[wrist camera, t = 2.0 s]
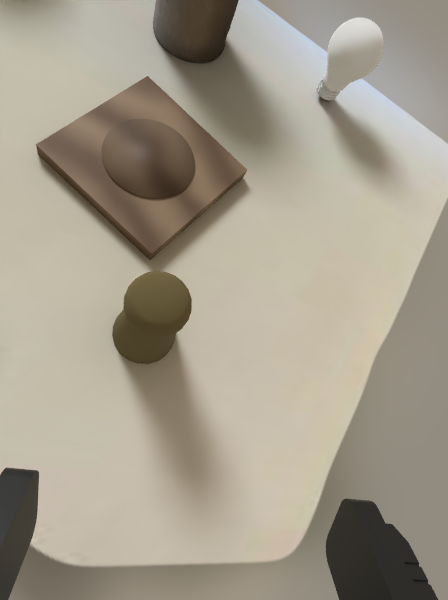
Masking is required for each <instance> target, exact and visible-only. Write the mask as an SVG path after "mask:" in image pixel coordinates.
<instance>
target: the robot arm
mask: <svg viewBox="0 0 448 600" xmlns="http://www.w3.org/2000/svg"><path fill="white" fill-rule="evenodd" d="M38 485H39V472H38V471H36V470H26V469H15V468H5V469H4V470H3V472H2V473H1V475H0V600H8V599H9V596H10V594H11V591H12V588H13V586H14V583H15V581H16V578H17V575H18V573H19V570H20V567H21V565H22V563H23V560H24V558H25V555H26V552H27V550H28V547H29V545H30V542H31V539H32V536H33V532H34V529H35V524H36V519H37V506H38ZM326 556H327V561H328V565H329V568H330V571H331V575H332V578H333V581H334V584H335V587H336V591H337V594H338V597H339V600H438V598H437V597H436V595H435V593H434V591H433V589H432V587H431V585H429V584H428V579H427V577H426V575H425V574H424V572H423V570H422V568H421V567H419V562H418V560H417V558H416V556H415V555H414V552H413V550H412V549H411V547H410V545H409V543H408V542H407V540H406V539H405V538H404V537H403V536H402V535H401V534H400V533H399V531H398V530H397V529H396V528H395V527H394V526H393V525H392V524H385V522H384V520H383V518H382V516H381V514H380V511H379V509H378V508H377V506H376V504H375V503H374V502H372V501H366V500H356V499H344V500H343V501H342V502H341V505H340V507H339V510H338V512H337V514H336V517H335V519H334V522H333V524H332V527H331V529H330V531H329V534H328V537H327V541H326Z"/></svg>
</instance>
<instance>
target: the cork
mask: <svg viewBox="0 0 448 600" xmlns="http://www.w3.org/2000/svg"><path fill="white" fill-rule="evenodd" d="M190 314H191V296H190V293H189V290H188V289H187V287H186V286H185V284H184V283H183V282H182V281H181V280H180V279H179V278H177V277H176V276H174V275H172V274H169V273H167V272H161V271H153V272H149V273H145V274H143V275H142V276H140V277H138V278H136V279H135V280H134V281H133V282H132V283H131V285H130V286H129V287H128V289H127V292H126V294H125V297H124V310H123V311H122V312H121V313H120V314H119V316H118V317H117V318H116V321H115V323H114V326H113V335H112V336H113V340H114V344H115V346H116V348H117V349H118V351H119V352H120V354H122V355H123V356H124V357H125V358H127V359H128V360H130V361H133V362H136V363H147V364H148V363H152V362H155V361H158V360H160V359H161V358H162V357H164V356H165V355H166V354H167V353H168V352H169V350H170V349H171V348H172V345H173V342H174V339H175V335H176V332H178V331H180V330H181V329H182V328H183V326H184V325H185V324H186V322H187V321H188V319H189V316H190Z"/></svg>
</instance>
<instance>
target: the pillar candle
mask: <svg viewBox="0 0 448 600" xmlns="http://www.w3.org/2000/svg"><path fill="white" fill-rule="evenodd" d="M237 4H238V0H156V4H155V12H154V20H153V29H154V33H155V36H156V38H157V40H158V41H159V42H160V44H161V45H162V46H163V47H164V48H165V49H166V50H167V51H169V52H170V53H171V54H173V55H175V56H177V57H179V58H181V59H184V60H188V61H193V62H202V63H204V62H210V61H212V60H215V58H217V57H219V56H220V55H221V53H222V51H223V49H224V47H225V40H226V37H227V34H228V31H229V29H230V25H231V22H232V19H233V17H234V13H235V10H236V7H237Z"/></svg>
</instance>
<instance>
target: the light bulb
mask: <svg viewBox="0 0 448 600" xmlns="http://www.w3.org/2000/svg"><path fill="white" fill-rule="evenodd" d="M383 48H384V39H383V35H382V32H381V30H380V28H379V27H378V26H377V25H376V24H375V23H374V22H373V21H371V20H369V19H367V18H354V19H350V20H348V21H347V22H345V23H343V24H342V25H341V26H339V27H338V29H337V30H336V31H335V32H334V34H333V35H332V38H331V40H330V42H329V46H328V55H327V68H326V71H325V73H324V75H323V80H322V81H321V82H320V83H319V86H318V88H317V92H318V94H319V96H320V97H321V98H322V99H324V100H326V101H331V100H334V99H335V98H336V96H337V95H338V94H339V93H340V91H341V90H343V89H344V88H345V87H346V86H347V85H348V84H349V83H351V82H353V81H355V80H358V79H361V78H363V77H365V76H366V75H368V74H369V73H371V72H372V71H373V70H374V69H375V67H376V66H377V64H378V63H379V61H380V59H381V56H382V53H383Z"/></svg>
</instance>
